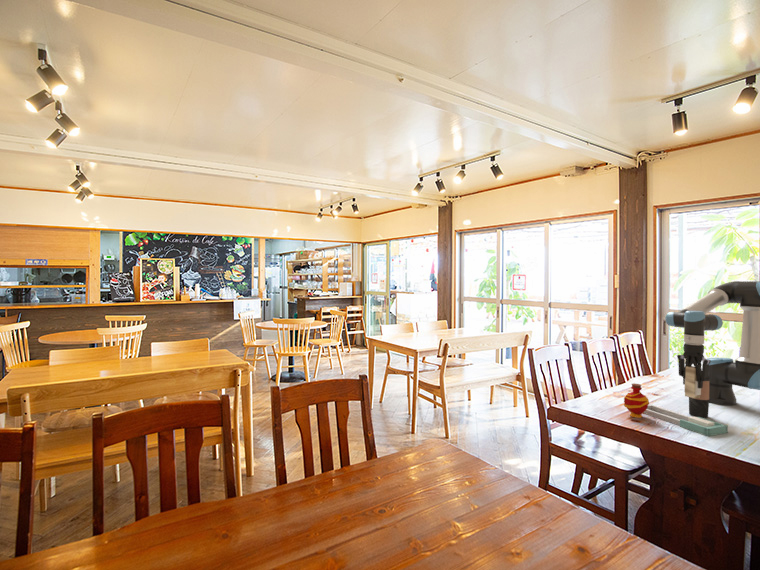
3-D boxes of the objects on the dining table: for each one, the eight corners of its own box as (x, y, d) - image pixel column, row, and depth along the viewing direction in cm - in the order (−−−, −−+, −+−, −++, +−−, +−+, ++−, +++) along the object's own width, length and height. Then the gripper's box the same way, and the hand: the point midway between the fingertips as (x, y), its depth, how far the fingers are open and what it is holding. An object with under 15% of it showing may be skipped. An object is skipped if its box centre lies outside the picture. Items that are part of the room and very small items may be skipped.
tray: (698, 423, 182) (698, 416, 182) (727, 432, 171) (727, 425, 171) (679, 426, 178) (679, 419, 178) (708, 436, 167) (708, 428, 167)
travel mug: (712, 418, 187) (713, 376, 187) (693, 417, 189) (694, 375, 189) (702, 413, 195) (703, 372, 195) (685, 412, 197) (685, 371, 196)
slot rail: (650, 408, 202) (650, 404, 202) (695, 423, 182) (696, 418, 182) (635, 410, 199) (636, 406, 199) (680, 425, 179) (680, 421, 179)
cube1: (694, 425, 180) (694, 416, 179) (704, 428, 176) (704, 419, 176) (688, 426, 178) (688, 417, 178) (697, 429, 174) (697, 420, 174)
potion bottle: (641, 421, 184) (641, 388, 184) (618, 414, 193) (619, 383, 193) (654, 417, 189) (654, 385, 189) (631, 410, 198) (632, 380, 198)
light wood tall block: (690, 395, 190) (691, 366, 190) (699, 397, 187) (700, 367, 186) (684, 395, 189) (685, 366, 189) (693, 398, 185) (694, 368, 185)
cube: (704, 428, 176) (704, 419, 176) (714, 431, 172) (714, 422, 172) (697, 429, 174) (698, 420, 174) (707, 432, 171) (708, 423, 171)
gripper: (669, 341, 194) (668, 389, 195) (708, 347, 178) (706, 399, 179) (680, 340, 197) (679, 388, 197) (719, 346, 180) (718, 398, 181)
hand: (692, 393), depth 188 cm, fingers closed on light wood tall block, 4 cm apart
